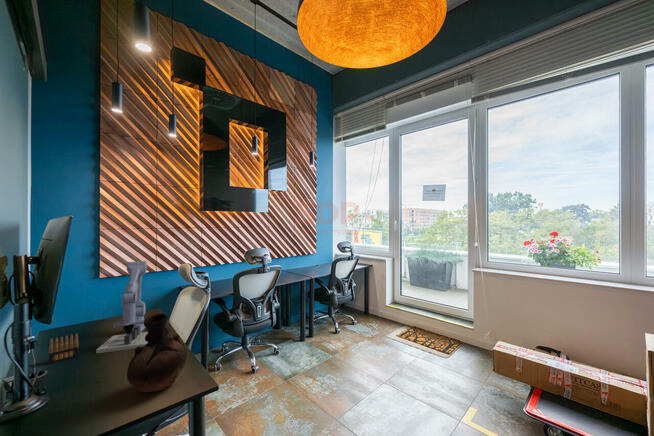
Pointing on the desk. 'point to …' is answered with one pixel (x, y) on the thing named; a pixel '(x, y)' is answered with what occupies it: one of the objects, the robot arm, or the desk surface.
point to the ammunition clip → (63, 349)
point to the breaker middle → (134, 334)
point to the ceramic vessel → (157, 357)
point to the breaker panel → (122, 343)
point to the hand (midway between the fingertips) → (128, 338)
